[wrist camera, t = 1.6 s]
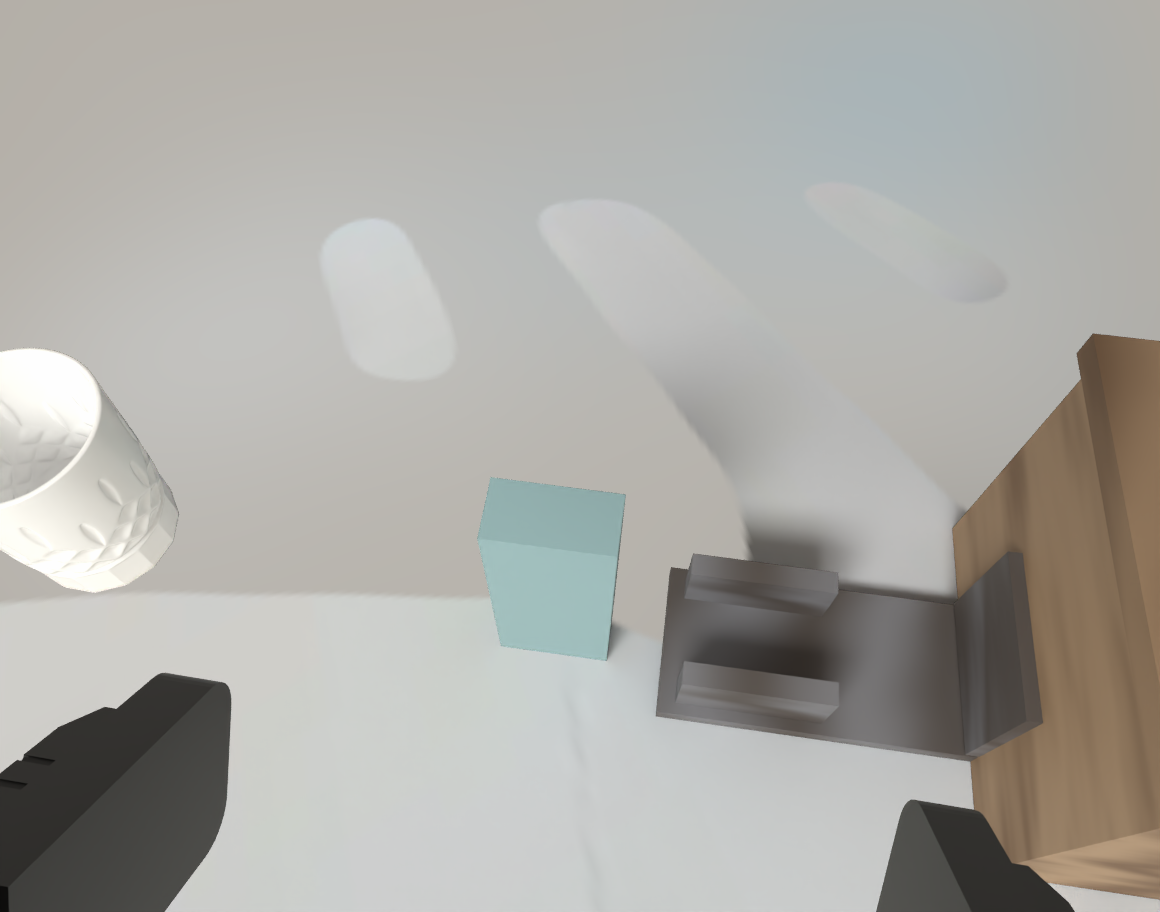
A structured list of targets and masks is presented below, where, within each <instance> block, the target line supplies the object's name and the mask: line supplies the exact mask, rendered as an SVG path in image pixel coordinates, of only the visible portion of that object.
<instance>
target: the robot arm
mask: <svg viewBox="0 0 1160 912" xmlns="http://www.w3.org/2000/svg"><path fill="white" fill-rule="evenodd" d="M230 720H231V693H230V690H229V687H228V686H227V685H226V684H225V683H223V682H217V681H211V680H205V679H199V678H193V677H187V676H181V675H175V674H169V673H161V674H158V675H157V676H155V677H154V678H153V679H151V680H150V681H149V682H148V683H147V684H145V685H144V686H143V687H142V688H141V689H140V690H138V691H137V692H136V693H135V694H134V695H132V696H131V697H130V698H129V699H128V700H127V701H125V702H124V703H123V704H122V705H121V706H119V707H118V708H117V709H114V708H108V707H104V708H101V709H99V710H97V711H95V712H92V713H90V714H88V715H85V716H83V717H81V718H79V719H76V720H74V721H72V722H69V723H67V724H65V725H63V726H60V727H58V728H57V729H56V730H54V731H53V732H52V733H51V734H49V735H48V736H47V737H46V738H44V739H43V740H42V741H41V742H39V743H38V744H37V745H35V746H34V747H33V748H32V749H30V750H29V751H28V752H27V753H25V754H24V757H23V759H22V761H19V760H17V761H15V762H14V763H13V764H12V765H10V766H9V767H8V768H6V769H5V770H4V771H3V772H1V773H0V912H165V910H166V909H167V908H168V906H169V905H170V903H171V902H172V901H173V899H174V898H175V897H176V895H177V894H178V893H179V891H180V890H181V889H182V887H183V886H184V885H185V883H186V882H187V881H188V879H189V878H190V877H191V875H192V874H193V873H194V871H195V870H196V869H197V867H198V866H199V865H200V863H201V862H202V861H203V859H204V858H205V857H206V855H207V854H208V852H209V850H210V849H211V847H212V845H213V843H214V841H215V839H216V836H217V834H218V832H219V829H220V826H221V823H222V819H223V816H224V812H225V807H226V800H227V784H228V763H229V741H230ZM876 912H1075V911H1074V910H1073V908H1072V907H1071V905H1070V904H1069V902H1068V901H1066V900H1065V899H1064V898H1063V897H1062V896H1061V895H1060V894H1059V893H1058V892H1057V891H1055V890H1054V889H1053V888H1052V887H1051V886H1050V885H1049V884H1048V883H1047V882H1046V881H1044V880H1043V879H1042V878H1041V877H1040V876H1039V875H1038V874H1037V873H1036V872H1035V871H1033V870H1032V869H1031V868H1030V867H1029V866H1026V865H1020V864H1015V863H1012V862H1011V861H1010V859H1009V857H1008V855H1007V854H1006V852H1005V850H1004V849H1003V847H1002V845H1001V844H1000V842H999V840H998V838H997V837H996V835H995V833H994V832H993V830H992V828H991V826H990V825H989V823H988V821H987V820H986V818H985V817H984V815H983V814H982V813H981V812H979V811H977V810H972V809H966V808H960V807H954V806H948V805H942V804H936V803H930V802H924V801H918V800H910V801H908V802H907V803H906V804H905V806H904V808H903V810H902V812H901V815H900V819H899V823H898V827H897V831H896V835H895V839H894V843H893V847H892V851H891V855H890V859H889V863H888V867H887V871H886V875H885V879H884V883H883V887H882V891H881V895H880V899H879V903H878V907H877V911H876Z"/></svg>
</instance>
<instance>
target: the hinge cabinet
mask: <svg viewBox="0 0 1160 912" xmlns="http://www.w3.org/2000/svg"><path fill="white" fill-rule="evenodd" d="M1077 358H1078V364H1079V370H1080V375H1081V380H1080V381H1079V382H1078V383H1077V384H1076V386H1075V387H1074V388H1073V389H1072V390H1071V391H1070V393H1069V394H1068V395H1067V396H1066V397H1065V398H1064V399H1063V401H1062V402H1061V403H1060V404H1059V405H1058V407H1057V408H1056V409H1055V410H1054V411H1053V412H1052V413H1051V415H1050V416H1049V417H1048V418H1047V419H1046V420H1045V422H1044V423H1043V424H1042V425H1041V427H1039V429H1038V430H1037V431H1036V432H1035V433H1034V434H1033V436H1032V437H1031V438H1030V439H1029V440H1028V442H1027V443H1026V444H1025V445H1024V446H1023V447H1022V448H1021V450H1020V451H1019V452H1018V453H1017V454H1016V455H1015V457H1014V458H1013V459H1012V460H1011V461H1010V462H1009V464H1008V465H1007V466H1006V467H1005V468H1004V469H1003V470H1002V472H1001V473H1000V474H999V475H998V476H997V477H996V479H995V480H994V481H993V482H992V483H991V484H990V486H989V487H988V488H987V489H986V490H985V491H984V493H983V494H982V495H981V496H980V497H979V498H978V500H977V501H976V502H975V503H974V504H973V505H972V507H971V508H970V509H969V510H968V511H967V512H966V513H965V515H964V516H963V517H962V518H961V519H960V520H959V522H958V523H957V524H956V525H955V526H954V527H953V529H952V530H953V543H954V556H955V569H956V581H957V594H958V600H957V601H956V602H955V603H954V605H951V604H943V603H936V602H928V601H920V600H913V599H905V598H898V597H890V596H883V595H875V594H868V593H860V592H853V591H845V590H838V573H837V572H829V571H822V570H814V569H806V568H799V567H791V566H784V565H776V564H769V563H761V562H753V561H746V560H738V559H731V558H723V557H715V556H708V555H700V554H693V556H692V559H691V563H690V566H689V570H687V569H680V568H672V567H671V570H670V576H669V586H668V596H667V607H666V617H665V627H664V637H663V648H662V658H661V668H660V679H659V689H658V699H657V710H656V716H658V717H665V718H672V719H679V720H686V721H693V722H700V723H707V724H714V725H721V726H728V727H735V728H742V729H749V730H756V731H762V732H769V733H776V734H783V735H790V736H797V737H804V738H811V739H818V740H825V741H832V742H839V743H846V744H853V745H860V746H867V747H874V748H881V749H887V750H894V751H901V752H908V753H915V754H922V755H929V756H936V757H943V758H950V759H957V760H964V761H971V774H972V787H973V800H974V810H977V811H979V812H981V813H982V814H983V815H984V817H985V818H986V820H987V821H988V823H989V825H990V826H991V828H992V830H993V832H994V833H995V835H996V837H997V838H998V840H999V842H1000V844H1001V845H1002V847H1003V849H1004V850H1005V852H1006V854H1007V855H1008V857H1009V859H1010V861H1011V862H1012V863H1015V864H1020V865H1026V866H1029V867H1030V868H1031V869H1032V870H1033V871H1035V872H1036V873H1037V874H1038V875H1039V876H1040V877H1041V878H1042V879H1043V880H1044V881H1046V882H1047V883H1054V884H1060V885H1067V886H1073V887H1080V888H1087V889H1093V890H1100V891H1106V892H1113V893H1120V894H1126V895H1133V896H1139V897H1146V898H1153V899H1159V900H1160V341H1154V340H1145V339H1136V338H1127V337H1118V336H1110V335H1100V334H1092V335H1091V337H1090V338H1089V339H1088V340H1087V342H1086V343H1085V344H1084V345H1083V346H1082V348H1081V349H1080V350H1079V351H1078V353H1077Z"/></svg>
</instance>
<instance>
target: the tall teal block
mask: <svg viewBox="0 0 1160 912" xmlns="http://www.w3.org/2000/svg"><path fill="white" fill-rule="evenodd" d="M625 496H626V495H625V494H617V493H610V492H602V491H594V490H586V489H578V488H571V487H563V486H555V485H547V484H538V483H531V482H523V481H516V480H508V479H500V478H492V477H491V478H490V483H489V488H488V492H487V497H486V501H485V506H484V510H483V515H482V520H481V524H480V529H479V533H478V538H477V539H478V544H479V548H480V553H481V557H482V562H483V566H484V571H485V575H486V580H487V584H488V589H489V593H490V598H491V602H492V607H493V611H494V616H495V620H496V625H497V629H498V634H499V638H500V643H501V646H505V647H512V648H519V649H526V650H533V651H541V652H548V653H555V654H562V655H569V656H576V657H583V658H590V659H598V660H605V661H606V660H607V653H608V645H609V637H610V629H611V621H612V614H613V605H614V596H615V587H616V578H617V568H618V560H619V549H620V541H621V531H622V523H623V514H624V513H623V512H624V505H625Z"/></svg>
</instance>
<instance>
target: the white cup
mask: <svg viewBox="0 0 1160 912" xmlns="http://www.w3.org/2000/svg"><path fill="white" fill-rule="evenodd" d="M178 516H179V512H178V509H177V506H176V504H175V501H174V498H173V495H172V492H171V490H170V488H169V487H168V485H167V484H166V482H165V481H164V480H163V478H162V477H161V476H160V474H159V473H158V471H157V468H156V467H155V465H154V463H153V462H152V460H151V458H150V457H149V455H148V454H147V453H146V451H145V450H144V448H143V447H142V445H141V444H140V442H139V440H138V438H137V437H136V436H135V434H134V432H133V431H132V430H131V428H130V427H129V426H128V424H127V423H126V421H125V420H124V418H123V417H122V416H121V414H120V413H119V411H118V410H117V409H116V407H115V406H114V404H113V403H112V402H111V400H110V399H109V397H108V396H107V395H106V393H105V392H104V390H103V389H102V387H101V386H100V385H99V383H98V382H97V380H96V379H95V377H94V376H93V375H92V373H91V372H90V371H89V370H88V369H87V368H86V367H85V366H84V365H83V364H82V363H81V362H79V361H78V360H76V359H74V358H73V357H71V356H69V355H66V354H64V353H61V352H57V351H53V350H48V349H40V348H20V349H12V350H6V351H1V352H0V550H1V551H3V552H5V553H7V554H8V555H10V556H11V557H13V558H14V559H16V560H18V561H19V562H21V563H23V564H25V565H27V566H29V567H31V568H34V569H36V570H39V571H40V572H42V573H44V574H45V575H46V576H48V577H49V578H51V579H52V580H54V581H56V582H57V583H59V584H60V585H62V586H64V587H66V588H71V589H77V590H82V591H87V592H93V593H95V592H100V591H104V590H108V589H112V588H117V587H121V586H125V585H128V584H129V583H131V582H132V581H134V580H135V579H137V578H138V577H140V576H141V575H143V574H144V573H146V572H147V571H149V570H150V569H152V568H153V567H155V565H156V564H157V563H158V561H159V560H160V559H161V557H162V556H163V555H164V553H165V552H166V550H167V549H168V548H169V546H170V545H171V544H172V542H173V540H174V535H175V531H176V526H177V521H178Z"/></svg>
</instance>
